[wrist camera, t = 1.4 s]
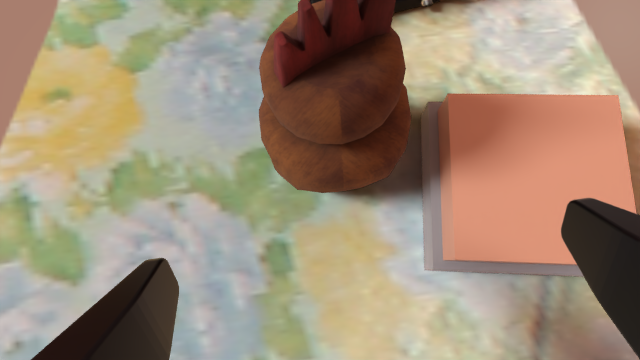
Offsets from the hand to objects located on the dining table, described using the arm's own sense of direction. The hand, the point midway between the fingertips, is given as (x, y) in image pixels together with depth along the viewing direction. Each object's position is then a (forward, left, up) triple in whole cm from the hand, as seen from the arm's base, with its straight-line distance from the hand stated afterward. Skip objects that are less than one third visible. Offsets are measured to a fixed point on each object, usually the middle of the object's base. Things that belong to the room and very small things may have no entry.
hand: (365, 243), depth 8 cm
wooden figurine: (+6, +1, -13) cm, 14 cm away
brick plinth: (+4, -8, -13) cm, 16 cm away
